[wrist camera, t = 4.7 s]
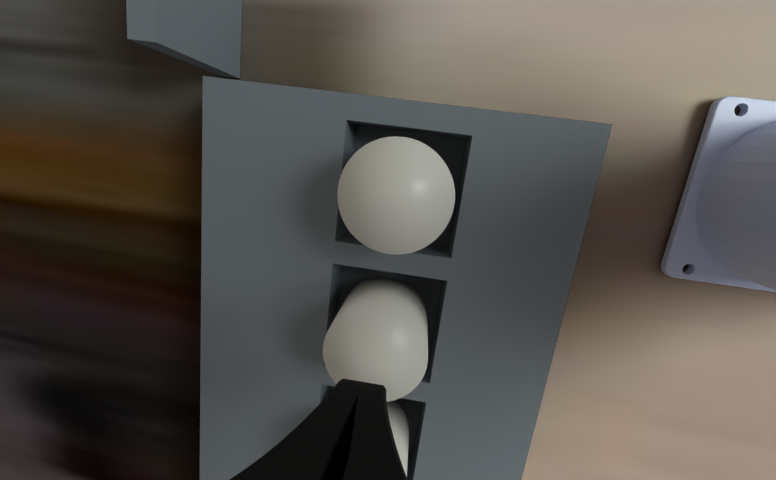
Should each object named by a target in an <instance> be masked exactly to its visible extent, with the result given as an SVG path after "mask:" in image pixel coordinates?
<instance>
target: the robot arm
mask: <svg viewBox="0 0 776 480" xmlns="http://www.w3.org/2000/svg"><path fill="white" fill-rule="evenodd" d="M737 105H738V106H739V107H740V113H739V114H738V115H737V116H736V115H735V113H734V109H735V107H736V106H737ZM686 264H688V265H689V267H688V269H687V270H686V271H685V272H682V268H683V267H684V266H685V265H686ZM661 270H662V272H663V273H664V274H666V275H668V276H670V277H673V278H680V279H687V280H694V281H700V282H707V283H714V284H721V285H728V286H735V287H742V288H749V289H756V290H763V291H770V292H776V101H773V100H764V99H755V98H746V97H737V96H726V97H721V98H719V99H717V100H715V101H714V102H713V103H712V105H711V107H710V109H709V112H708V115H707V118H706V122H705V125H704V128H703V131H702V134H701V138H700V141H699V144H698V147H697V150H696V154H695V157H694V160H693V163H692V166H691V170H690V173H689V176H688V179H687V182H686V186H685V189H684V192H683V195H682V198H681V202H680V205H679V208H678V211H677V215H676V218H675V221H674V224H673V227H672V231H671V234H670V237H669V240H668V243H667V247H666V250H665V253H664V256H663V259H662V263H661ZM230 480H408V479H407V477H406V474H405V471H404V469H403V466H402V463H401V460H400V457H399V454H398V451H397V447H396V444H395V440H394V437H393V433H392V429H391V425H390V420H389V415H388V409H387V401H386V388H385V387H384V385H379V384H373V383H367V382H361V381H355V380H349V379H344V378H343V379H341V380H340V381H339V382H338V383H337V384H336V385H335V387H334V388H333V389H332V390H331V392H330V393H329V394H328V395H327V396H326V397H325V398H324V400H323V401H322V402H321V403H320V404H319V405H318V406H317V407H316V408H315V409H314V410H313V411H312V412H311V413H310V414H309V415H308V416H307V417H306V418H305V419H304V420H303V421H302V422H301V423H300V424H299V425H298V426H297V427H296V428H295V429H294V430H293V431H291V432H290V433H289V434H288V435H287V436H286V437H285V438H284V439H283V440H281V441H280V442H279V443H278V444H277V445H276V446H274V447H273V448H272V449H271V450H269V451H268V452H267V453H266V454H264V455H263V456H262V457H261V458H259V459H258V460H257V461H255V462H254V463H253V464H251V465H250V466H249V467H247V468H246V469H244V470H243V471H241V472H240V473H238V474H237V475H236V476H234V477H233V478H231V479H230Z"/></svg>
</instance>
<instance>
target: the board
mask: <svg viewBox="0 0 776 480" xmlns="http://www.w3.org/2000/svg"><path fill="white" fill-rule="evenodd" d="M611 127H612V124H605V123H596V122H588V121H579V120H571V119H562V118H554V117H545V116H537V115H529V114H520V113H512V112H503V111H495V110H486V109H478V108H470V107H461V106H453V105H444V104H436V103H427V102H419V101H410V100H402V99H394V98H385V97H377V96H368V95H360V94H351V93H343V92H334V91H326V90H318V89H309V88H301V87H292V86H284V85H275V84H267V83H259V82H250V81H242V80H233V79H225V78H216V77H208V76H203V100H202V232H201V364H200V480H230V479H231V478H233V477H234V476H236V475H237V474H238V473H240V472H241V471H243V470H244V469H246V468H247V467H249V466H250V465H251V464H253V463H254V462H255V461H257V460H258V459H259V458H261V457H262V456H263V455H264V454H266V453H267V452H268V451H269V450H271V449H272V448H273V447H274V446H276V445H277V444H278V443H279V442H280V441H281V440H283V439H284V438H285V437H286V436H287V435H288V434H289V433H290V432H291V431H293V430H294V429H295V428H296V427H297V426H298V425H299V424H300V423H301V422H302V421H303V420H304V419H305V418H306V417H307V416H308V415H309V414H310V413H311V412H312V411H313V410H314V409H315V408H316V407H317V406H318V405H319V404H320V403H321V402H322V401H323V400H324V398H325V397H326V396H327V395H328V394H329V393H330V392H331V390H332V389H333V388H334V387H335V385H336V383H335V382H334V381H333V379H332V378H331V377H330V375H329V373H328V371H327V369H326V367H325V363H324V359H323V343H324V339H325V336H326V334H327V332H328V330H329V328H330V326H331V324H332V322H333V321H334V319H335V317H336V315H337V314H338V312H339V310H340V308H341V306H342V305H343V303H344V301H345V299H346V298H347V296H348V294H349V293H350V292H351V290H352V289H353V288H354V287H355V286H357V285H358V284H359V283H361V282H363V281H365V280H367V279H370V278H374V277H392V278H396V279H399V280H401V281H403V282H405V283H407V284H409V285H410V286H411V287H413V288H414V289H415V290H416V291H417V292H418V293H419V295H420V296H421V298H422V300H423V302H424V304H425V306H426V310H427V321H428V365H427V369H426V372H425V374H424V377H423V378H422V380H421V382H420V383H419V384H418V386H417V387H416V388H415V389H414V390H413V391H411V392H410V393H409V394H407V395H405V396H404V397H402V398H399V399H397V400H394V401H396V402H397V403H398V404H399V405H400V406H401V407H402V409H403V410H404V412H405V413H406V415H407V418H408V421H409V447H408V465H407V479H408V480H521V479H522V475H523V471H524V467H525V463H526V459H527V455H528V451H529V447H530V443H531V439H532V436H533V432H534V428H535V424H536V420H537V416H538V412H539V408H540V404H541V400H542V397H543V393H544V389H545V385H546V381H547V377H548V373H549V369H550V365H551V361H552V357H553V354H554V350H555V346H556V342H557V338H558V334H559V330H560V326H561V322H562V318H563V314H564V311H565V307H566V303H567V299H568V295H569V291H570V287H571V283H572V279H573V275H574V271H575V268H576V264H577V260H578V256H579V252H580V248H581V244H582V240H583V236H584V232H585V228H586V225H587V221H588V217H589V213H590V209H591V205H592V201H593V197H594V193H595V189H596V185H597V182H598V178H599V174H600V170H601V166H602V162H603V158H604V154H605V150H606V146H607V143H608V139H609V135H610V131H611ZM393 136H399V137H407V138H412V139H415V140H418V141H420V142H422V143H424V144H426V145H427V146H429V147H430V148H432V149H433V150H434V151H435V152H436V153H437V154H439V156H440V157H441V158H442V159H443V160H444V162H445V164H446V165H447V167H448V169H449V171H450V173H451V175H452V179H453V182H454V188H455V204H454V209H453V213H452V216H451V219H450V221H449V223H448V225H447V227H446V228H445V230H444V231H443V232H442V234H441V235H440V236H439V237H438V238H437V239H436V240H435V241H433V242H432V243H431V244H429V245H428V246H426V247H425V248H423V249H420V250H418V251H415V252H412V253H408V254H400V255H393V254H385V253H381V252H378V251H375V250H373V249H370V248H368V247H367V246H365V245H364V244H362V243H361V242H360V241H358V240H357V239H356V238H355V237H354V236H353V235H352V234H351V233H350V231H349V230H348V228H347V227H346V225H345V223H344V221H343V219H342V217H341V214H340V211H339V207H338V199H337V192H338V184H339V180H340V176H341V174H342V171H343V169H344V167H345V165H346V164H347V162H348V161H349V159H350V158H351V157H352V156H353V155H354V154H355V153H356V152H357V151H358V150H359V149H360V148H362V147H363V146H365V145H366V144H368V143H370V142H372V141H374V140H377V139H380V138H385V137H393Z"/></svg>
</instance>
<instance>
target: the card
mask: <svg viewBox="0 0 776 480" xmlns="http://www.w3.org/2000/svg"><path fill="white" fill-rule="evenodd" d="M126 12H127V39H129V40H131V41H134V42H136V43H139V44H141V45H144V46H146V47H149V48H151V49H154V50H156V51H159V52H161V53H164V54H166V55H169V56H171V57H173V58H176V59H178V60H181V61H183V62H186V63H188V64H191V65H193V66H196V67H198V68H201V69H203V70H206V71H208V72H211V73H213V74H216V75H218V76H222V77H231V78H239V79H240V60H241V26H242V0H126Z"/></svg>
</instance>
